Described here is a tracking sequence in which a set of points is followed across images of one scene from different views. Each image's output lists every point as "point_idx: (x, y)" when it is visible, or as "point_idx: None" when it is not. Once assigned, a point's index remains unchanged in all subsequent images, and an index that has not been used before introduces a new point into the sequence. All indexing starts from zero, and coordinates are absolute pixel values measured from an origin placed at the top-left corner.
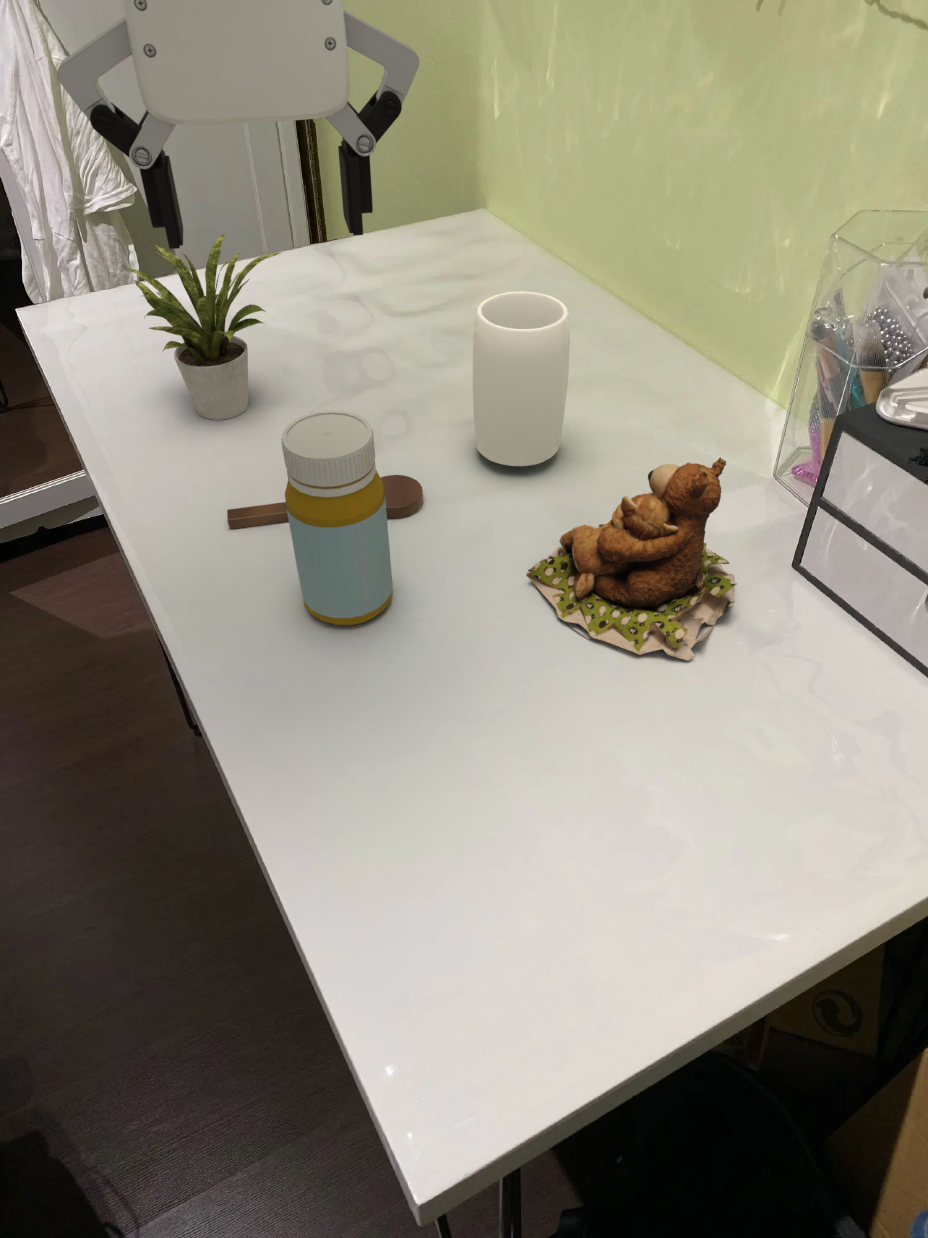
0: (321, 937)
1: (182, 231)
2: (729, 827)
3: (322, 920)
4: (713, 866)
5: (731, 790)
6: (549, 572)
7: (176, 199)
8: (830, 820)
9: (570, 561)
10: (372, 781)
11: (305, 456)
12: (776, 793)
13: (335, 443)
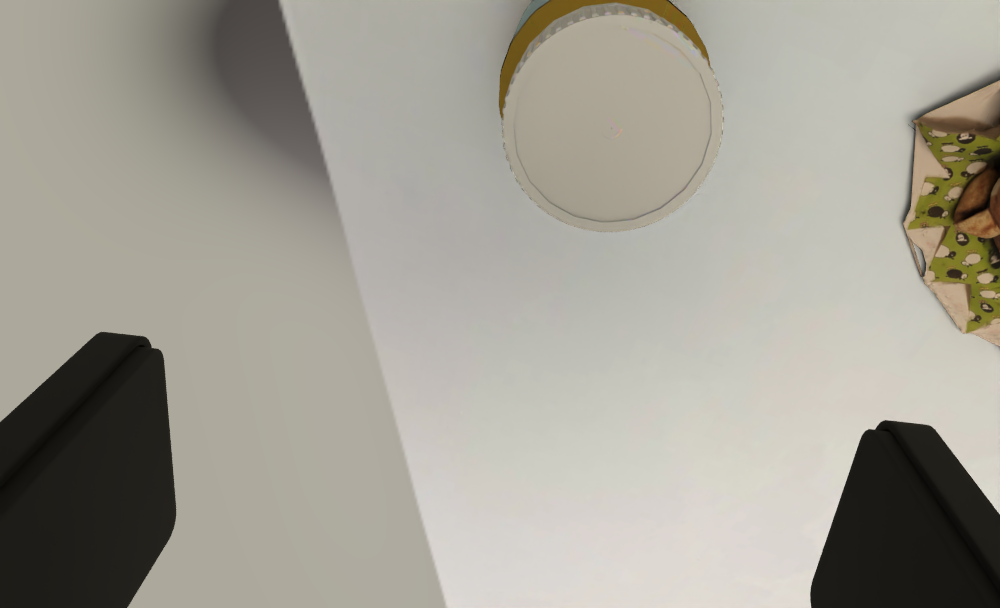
0: (438, 528)
1: (162, 424)
2: None
3: (442, 515)
4: None
5: None
6: (949, 149)
7: (101, 484)
8: None
9: (998, 154)
10: (531, 392)
11: (541, 206)
12: None
13: (620, 168)
